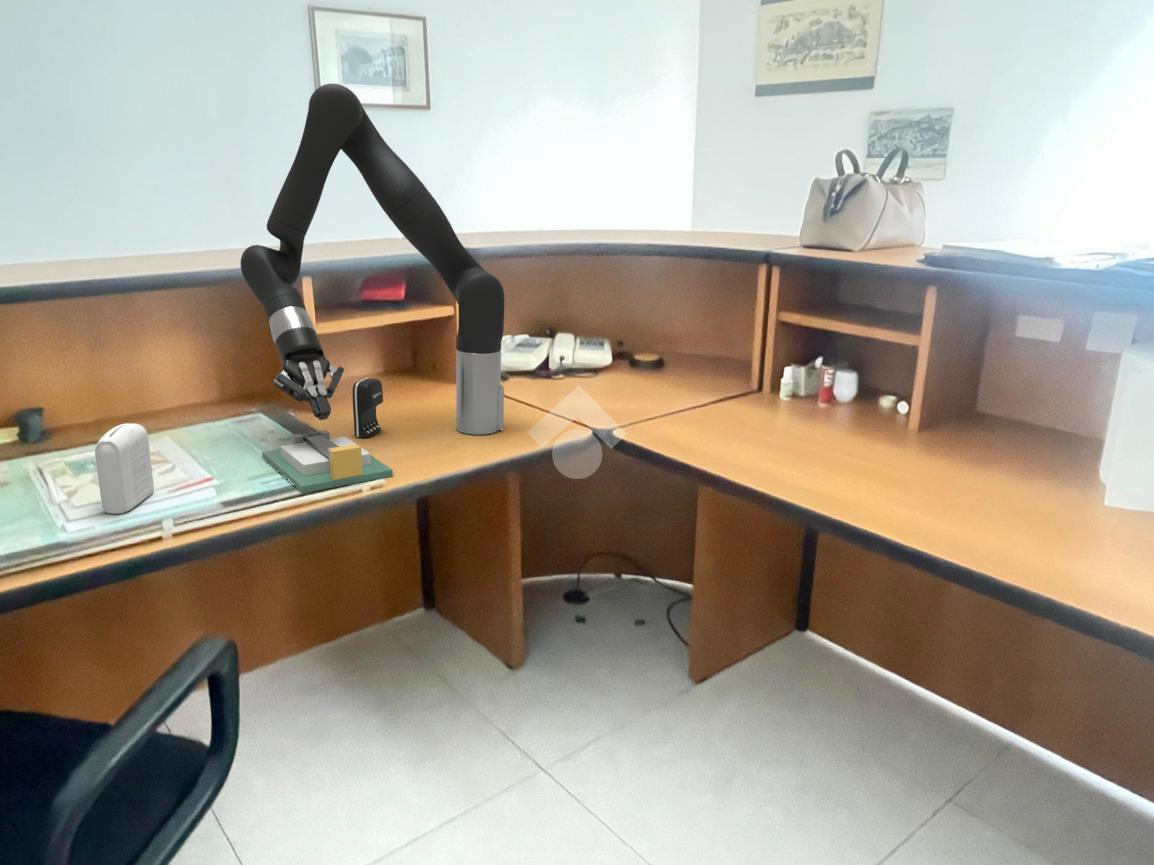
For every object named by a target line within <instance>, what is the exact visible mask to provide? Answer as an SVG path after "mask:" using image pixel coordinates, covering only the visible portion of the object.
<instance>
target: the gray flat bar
mask: <svg viewBox="0 0 1154 865" xmlns="http://www.w3.org/2000/svg"><path fill="white" fill-rule="evenodd" d="M301 435H302V436H303V443H305V442H307V443H308V444H310V445H311V446H313V447H314V448H316V449H317V450H318V451H320V452H321V453H323V454H324V455H326V456H327V457H329V452H328V448H334V447H339V446H338V445H336V444H335V443H333V442H331V441H330V440H328V439H327V438H325V437H324V436H322V435H321V434H320V433H319V431H316V432H309V433H302V434H301Z"/></svg>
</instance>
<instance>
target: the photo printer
mask: <svg viewBox="0 0 1154 865" xmlns="http://www.w3.org/2000/svg"><path fill="white" fill-rule="evenodd" d="M94 455H95V463H96V471H97V480H98V486H99V493H100V501H101V507H102V510H103V511H104V512H106V514H112V515H113V514H115V515H118V514H124V513H126V512H129V511H130V510H132V509H134V508H135V507H136V506H138V505H139V504H140V503H141V502H143V501H144V500H145V499H147V498H148V497H149V496H150V495H152V494H153V493H154V490H155V486H154V477H153V468H152V459H151V458H152V457H151V451H150V442H149V434H148V431H147V430H146V428H145V427H144V426H143V425H141V424H139V423H122V424H119V425H116V426H114V427H113V428H111V429H109V430H108V431H107V432H105V434H103V436H102V437H101V438H99V441H98V442H97V443H96V446H95V448H94Z"/></svg>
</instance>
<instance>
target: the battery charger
mask: <svg viewBox="0 0 1154 865" xmlns="http://www.w3.org/2000/svg"><path fill="white" fill-rule="evenodd" d="M383 402H384V392H383V384H382V382H381V380H380V379H378V378H371V377H364V378H362V379H359V380H358V381H355V382H354V384H353V386H352V410H353V411H352V414H353V429H354V430H353V432H354V437H355V438H371V437H373V436H375V435H376V434H377V433H380V432H381V430H382V428H381V425H380V424H379V422H378V418H377V407H378V406H380V404H382V403H383Z"/></svg>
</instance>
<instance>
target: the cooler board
mask: <svg viewBox="0 0 1154 865" xmlns="http://www.w3.org/2000/svg"><path fill="white" fill-rule="evenodd" d="M318 432H319V433H320V434H321V435H322V436H324V437H325V438H327V439H328V440H330V441H331V442H333V443H335V444H336V445H338V446H339V447H334V448H328V452H329V457H327V456H326V455H324V454H323V453H321V452H320V451H318V450H317V449H316V448H314V447H313V446H311V445H310V444H308V443H307V442H303V436H302V434H301V433H298V434H297V433H296V434H292V435H291V436H292V437H291V438H292V444H286V445H281V446H280V448H277V449H270V450H265V451H261V453H262V454H261V455H262V456H261V458H262V459H263V458H264V459H265V460H266V461H267V462H266V461H265V460H264V459H263V460H264V461H265V462H266V463H267V464H269V465H270V464H271V465H272V466H273V467H274V468H275V469H277V470H278V471H279V472H280V473H281V474H282V475H284V476H285V477H286V478H288V479H289V480H290V481H291V482H292V483H293V484H294V485H295V486H296V487H295V486H294V487H295V488H296V489H297V490H298V492H301V494H306V493H311V492H316V491H321V490H327V489H332V488H338V487H342V486H343V487H344V486H347V485H353V484H360V483H364V482H369V481H374V480H380V479H381V480H382V479H384V478H391V477H393V476H394V474H393V473H394V472H393V469H392V468H391V467H389V466H388V465H386V464H384V463H383V462H382V461H380V460H378V459H377V458H376V457H375V456H372V453H370V452H369V451H367V450H366V449H364V448H363V447H362V446H360V445H359V444H357V443H355V442H354V441H352V440H351V439H349V438H348V437H346V436H344V435H343V436H339V437H332V438H330V436H331V433H330V431H328V430H326V429H325V430H324V429H323V430H319V431H318ZM271 465H270V466H271ZM272 466H271V467H272ZM273 467H272V468H273ZM274 468H273V469H274ZM275 469H274V470H275ZM277 470H276V471H277ZM278 471H277V472H278ZM279 472H278V473H279ZM280 473H279V474H280ZM281 474H280V475H281ZM282 475H281V476H282ZM286 478H285V479H286Z"/></svg>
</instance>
